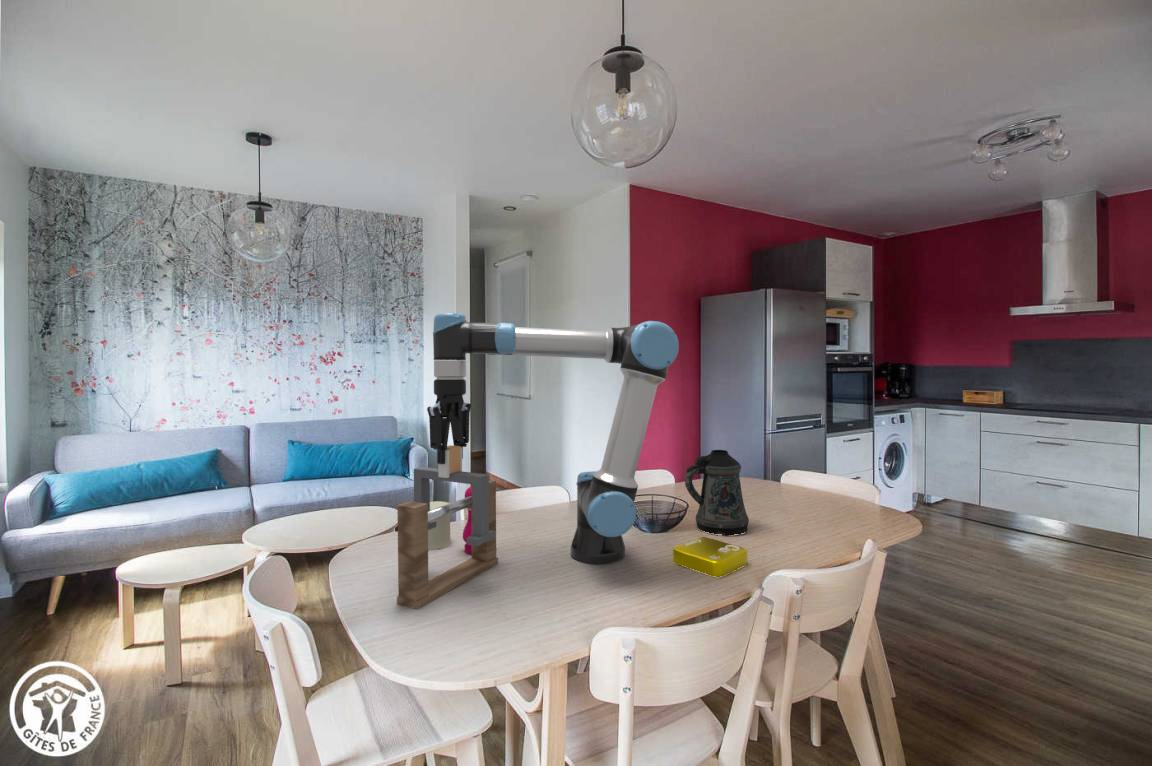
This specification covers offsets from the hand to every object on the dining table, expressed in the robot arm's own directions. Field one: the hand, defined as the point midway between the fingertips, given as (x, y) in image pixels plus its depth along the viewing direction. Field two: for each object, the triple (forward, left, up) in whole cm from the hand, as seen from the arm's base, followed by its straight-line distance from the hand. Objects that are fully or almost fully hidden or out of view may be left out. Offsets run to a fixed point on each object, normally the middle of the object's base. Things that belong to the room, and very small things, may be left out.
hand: (450, 475), depth 131 cm
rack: (0, 0, -26) cm, 26 cm away
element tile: (-53, -41, -27) cm, 72 cm away
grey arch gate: (0, 0, -15) cm, 15 cm away
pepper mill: (+8, -20, -26) cm, 34 cm away
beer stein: (-49, -71, -26) cm, 90 cm away
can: (+22, -19, -26) cm, 39 cm away
